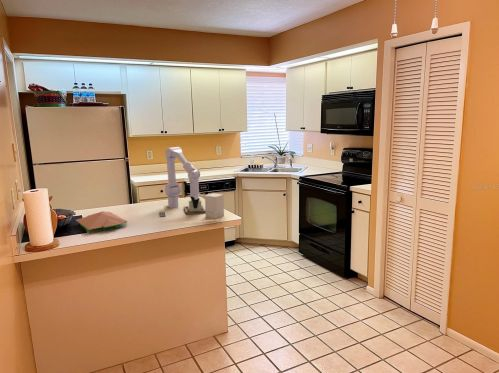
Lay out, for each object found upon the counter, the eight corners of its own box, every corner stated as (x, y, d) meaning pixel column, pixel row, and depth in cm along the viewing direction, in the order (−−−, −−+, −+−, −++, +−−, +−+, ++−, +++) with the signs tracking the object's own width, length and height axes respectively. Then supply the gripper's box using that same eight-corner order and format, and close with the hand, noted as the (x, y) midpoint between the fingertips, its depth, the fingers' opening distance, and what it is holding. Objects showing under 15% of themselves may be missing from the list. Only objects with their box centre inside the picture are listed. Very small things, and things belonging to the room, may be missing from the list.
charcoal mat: (159, 213, 253) (159, 212, 253) (180, 211, 256) (180, 210, 256) (160, 217, 243) (160, 216, 243) (181, 215, 247) (181, 214, 247)
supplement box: (224, 216, 243) (224, 194, 240) (216, 219, 236) (215, 197, 233) (213, 214, 248) (213, 192, 245) (205, 217, 241) (204, 195, 238)
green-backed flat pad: (91, 236, 207) (89, 222, 206) (73, 223, 232) (72, 210, 231) (130, 228, 222) (129, 214, 220) (110, 216, 247) (109, 204, 245)
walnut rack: (183, 209, 261) (183, 206, 261) (202, 208, 265) (201, 205, 264) (186, 215, 246) (186, 212, 245) (205, 214, 249) (205, 211, 249)
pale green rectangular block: (188, 210, 252) (188, 200, 251) (200, 209, 254) (200, 199, 253) (189, 212, 248) (189, 202, 247) (201, 211, 250) (201, 201, 249)
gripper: (202, 189, 242) (202, 209, 245) (198, 185, 256) (199, 204, 259) (191, 190, 240) (191, 210, 243) (188, 186, 254) (189, 205, 257)
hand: (195, 207), depth 251 cm, fingers closed on pale green rectangular block, 4 cm apart
